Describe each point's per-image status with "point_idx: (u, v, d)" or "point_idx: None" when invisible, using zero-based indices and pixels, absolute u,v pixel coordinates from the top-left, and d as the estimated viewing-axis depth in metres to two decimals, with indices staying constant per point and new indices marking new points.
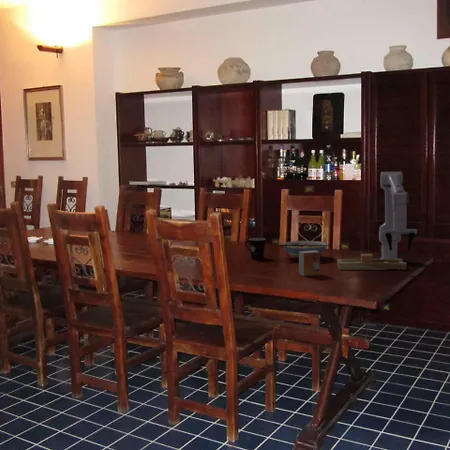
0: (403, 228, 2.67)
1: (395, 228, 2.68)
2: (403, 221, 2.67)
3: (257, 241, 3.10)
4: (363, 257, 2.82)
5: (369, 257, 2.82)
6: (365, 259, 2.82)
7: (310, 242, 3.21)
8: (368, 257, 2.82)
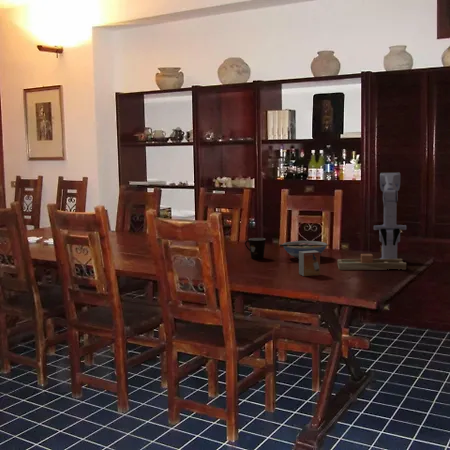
0: (393, 224, 2.79)
1: (385, 224, 2.80)
2: (393, 217, 2.78)
3: (257, 241, 3.10)
4: (363, 257, 2.82)
5: (369, 257, 2.82)
6: (365, 259, 2.82)
7: (310, 242, 3.21)
8: (368, 257, 2.82)
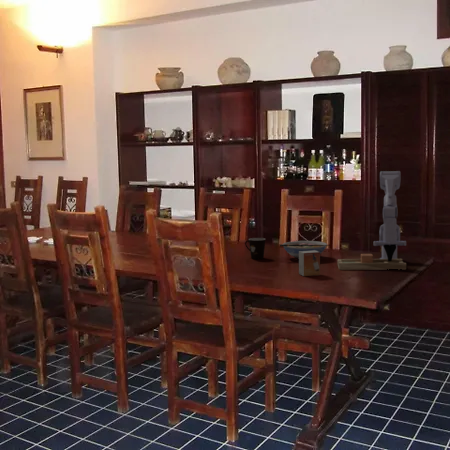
0: (393, 240, 2.80)
1: (385, 240, 2.81)
2: (393, 233, 2.79)
3: (257, 241, 3.10)
4: (363, 257, 2.82)
5: (369, 257, 2.82)
6: (365, 259, 2.82)
7: (310, 242, 3.21)
8: (368, 257, 2.82)
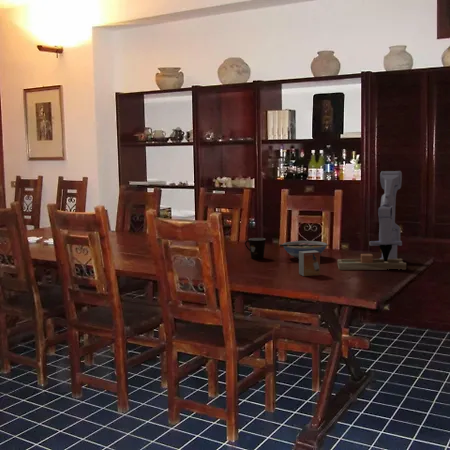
0: (389, 240, 2.80)
1: (381, 240, 2.81)
2: (389, 233, 2.79)
3: (257, 241, 3.10)
4: (363, 257, 2.82)
5: (369, 257, 2.82)
6: (365, 259, 2.82)
7: (310, 242, 3.21)
8: (368, 257, 2.82)
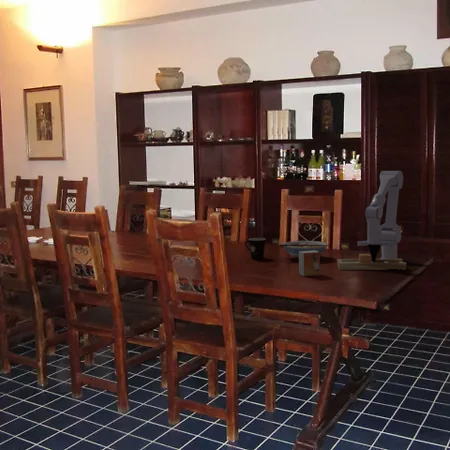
0: (377, 240, 2.80)
1: (369, 240, 2.81)
2: (377, 233, 2.80)
3: (257, 241, 3.10)
4: (361, 257, 2.82)
5: (367, 257, 2.82)
6: (363, 259, 2.82)
7: (310, 242, 3.21)
8: (366, 257, 2.82)
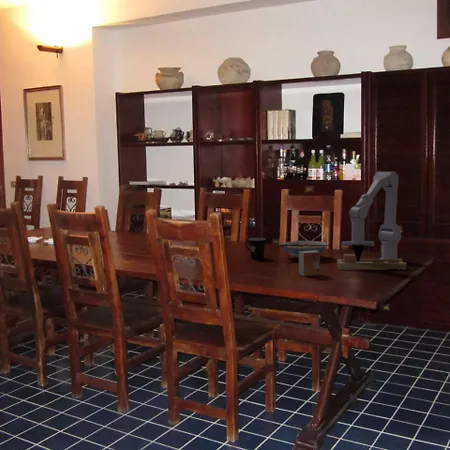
0: (361, 240, 2.81)
1: (353, 240, 2.82)
2: (361, 234, 2.81)
3: (257, 241, 3.10)
4: (346, 257, 2.83)
5: (352, 257, 2.83)
6: (348, 259, 2.83)
7: (310, 242, 3.21)
8: (351, 257, 2.83)
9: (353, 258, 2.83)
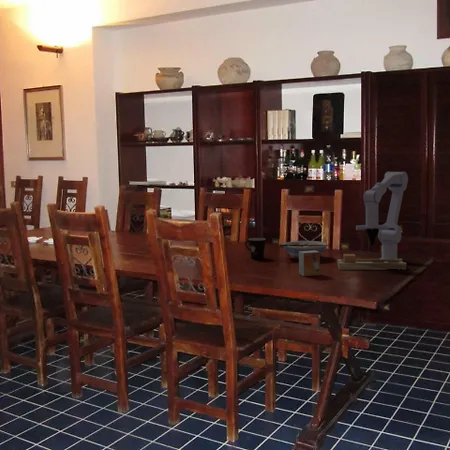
0: (375, 224, 2.81)
1: (367, 224, 2.82)
2: (375, 217, 2.81)
3: (257, 241, 3.10)
4: (346, 257, 2.83)
5: (352, 257, 2.83)
6: (348, 259, 2.83)
7: (310, 242, 3.21)
8: (351, 257, 2.83)
9: (353, 258, 2.83)
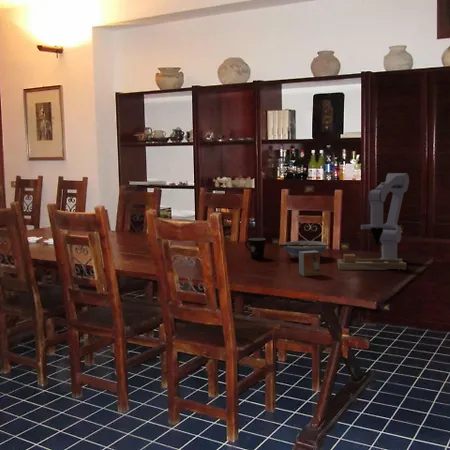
0: (380, 223, 2.82)
1: (372, 223, 2.83)
2: (380, 217, 2.82)
3: (257, 241, 3.10)
4: (346, 257, 2.83)
5: (352, 257, 2.83)
6: (348, 259, 2.83)
7: (310, 242, 3.21)
8: (351, 257, 2.83)
9: (353, 258, 2.83)
